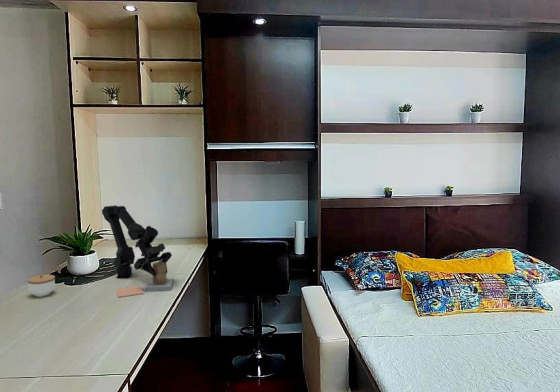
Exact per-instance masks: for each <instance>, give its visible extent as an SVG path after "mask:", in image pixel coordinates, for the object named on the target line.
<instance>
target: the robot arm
mask: <svg viewBox="0 0 560 392" xmlns="http://www.w3.org/2000/svg"><path fill="white" fill-rule="evenodd" d="M101 214H102V216H103V218H104V220H105V221H106V222H108V223H109V225H110V229H111V232H112V235H113V237H114V241H115V244H116V248H117V250H116V253H115V256H116V257H115V260H114V261H113V266H114V267H115V268H116V269H117V274H116V275H117V276H116V279H128V278H131V276H132V275H133V268H134V269H135V271H138V270H140V271H145V272H146V273H148V274H150V275H152V277H153V276H155V277H156V273H155V271H154V269H153V265H152V263H156V262H160V261H161V262H165V263H166V274H168V267H167V266H168V265H167V263H168V261H169V260H170V259H171V257H172V256H173V255H172V253H171V252H170V251H165V252H164V250H166V246H165V245H164V243H159V244H158V245H155V246H154V245H152V243H153V242H154V241H155V239H156V237H157V236H158V235H159V231H158V229H156V228H154V227H152V226H151V225H148V226H146V227H145V228H144V226H143V225H142V224H140V223H137V222H136V221H135V220H134V218H133V217H132V215H131V214H130V213H129V212H128V210H127V208H126V206H124V205H115V204H114V205H108V206H107V205H105V206H104V207H103V208H102V209H101ZM120 221H121V222H122V223H123V224H124V226H125V227H126V229H127V235H128V236H129V238H130V240H132V241H135V242H136V243H135V246H134V247H135V248H139V250H140V253H141V254H140V256H141V258H137V259H136V258H135V257H136V256H135V251H134V248H133V247H132V246H129V245H128V243H127V240H126V237H125V234H124V231H123V227H122V223H121V222H120ZM137 240H138V241H137ZM161 252H162V253H161ZM160 254H161V255H160ZM135 259H136V261H135ZM132 265H133V266H132Z"/></svg>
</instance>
